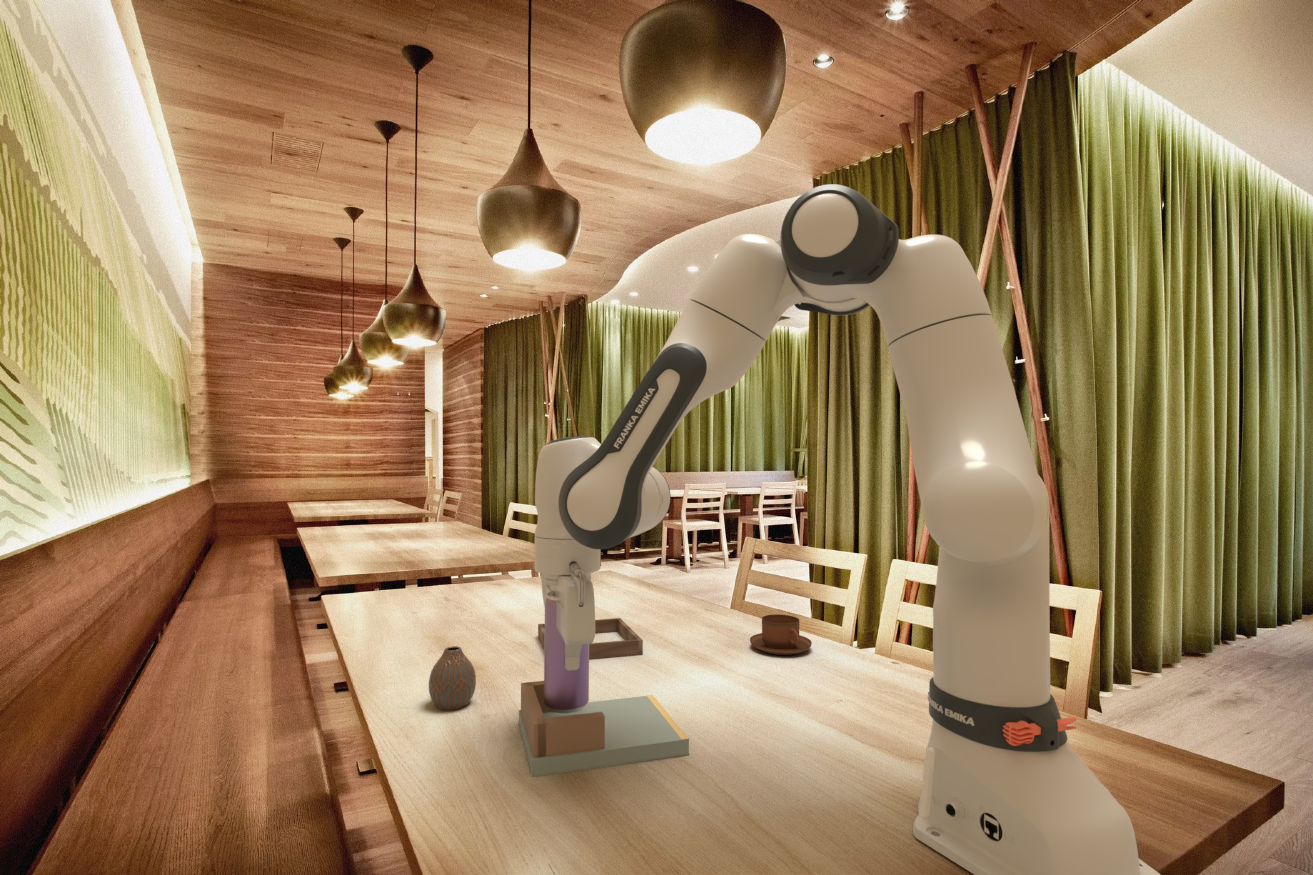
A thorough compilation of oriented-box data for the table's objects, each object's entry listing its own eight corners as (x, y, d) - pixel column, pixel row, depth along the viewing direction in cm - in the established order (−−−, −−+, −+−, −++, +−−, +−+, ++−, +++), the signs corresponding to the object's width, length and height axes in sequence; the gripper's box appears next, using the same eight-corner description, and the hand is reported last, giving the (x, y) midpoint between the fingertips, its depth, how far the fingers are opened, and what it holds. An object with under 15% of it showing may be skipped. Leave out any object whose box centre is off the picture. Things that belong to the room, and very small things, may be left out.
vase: (424, 716, 97) (425, 656, 97) (432, 698, 104) (433, 642, 104) (472, 713, 98) (473, 654, 98) (478, 696, 105) (478, 640, 105)
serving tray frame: (642, 655, 126) (642, 640, 126) (550, 664, 120) (550, 647, 120) (619, 631, 142) (620, 617, 143) (538, 638, 137) (538, 623, 137)
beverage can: (580, 716, 85) (581, 599, 85) (536, 712, 86) (538, 597, 86) (594, 699, 91) (595, 589, 91) (553, 695, 92) (554, 587, 92)
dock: (688, 754, 85) (689, 707, 85) (531, 776, 79) (532, 726, 79) (652, 708, 100) (652, 668, 100) (518, 724, 94) (518, 681, 94)
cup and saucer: (824, 651, 130) (824, 619, 130) (785, 663, 122) (785, 630, 122) (775, 638, 139) (775, 608, 139) (737, 649, 131) (737, 617, 131)
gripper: (608, 568, 80) (607, 684, 79) (577, 545, 99) (576, 637, 99) (556, 571, 78) (555, 689, 77) (534, 547, 97) (534, 641, 97)
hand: (566, 660), depth 88 cm, fingers closed on beverage can, 5 cm apart
